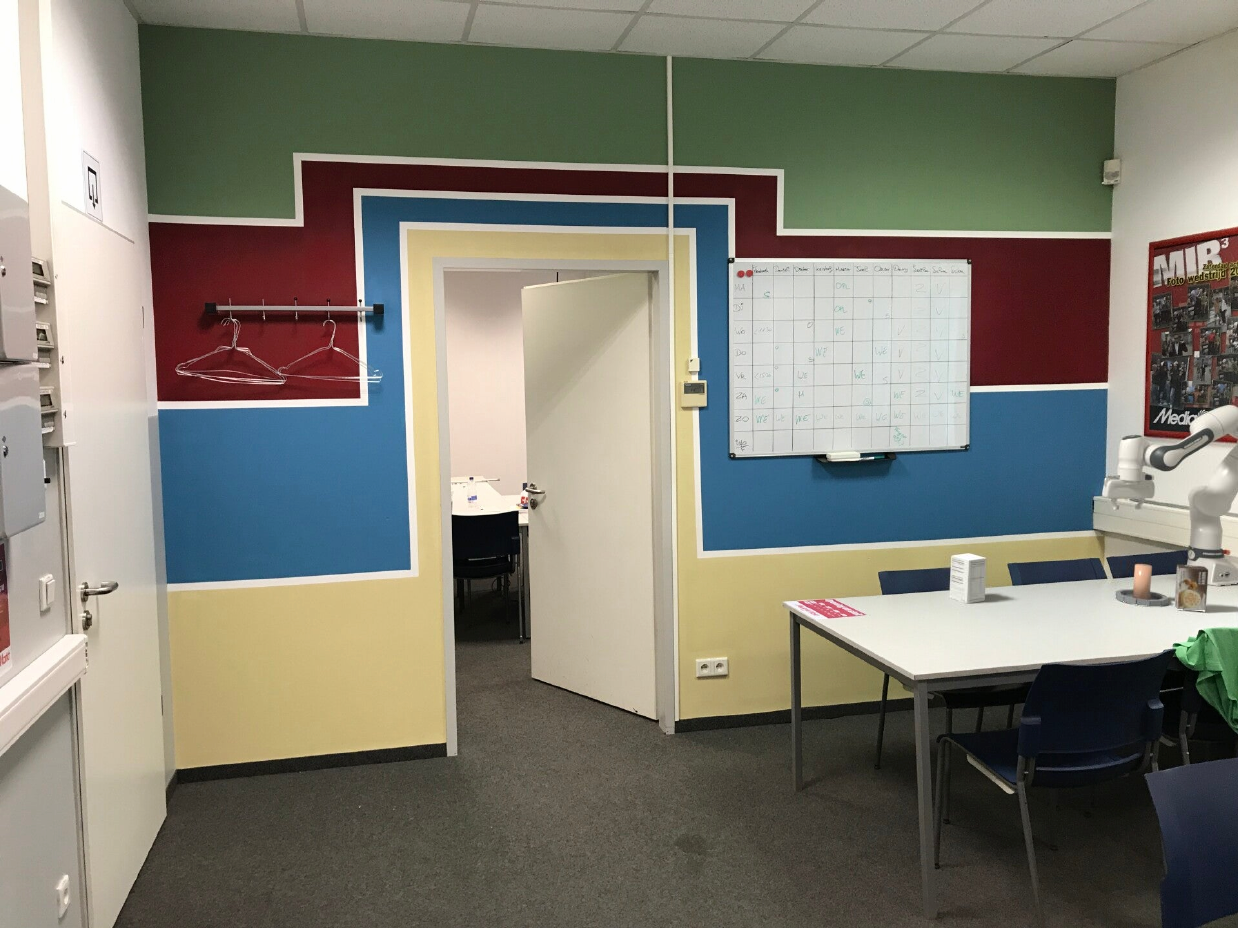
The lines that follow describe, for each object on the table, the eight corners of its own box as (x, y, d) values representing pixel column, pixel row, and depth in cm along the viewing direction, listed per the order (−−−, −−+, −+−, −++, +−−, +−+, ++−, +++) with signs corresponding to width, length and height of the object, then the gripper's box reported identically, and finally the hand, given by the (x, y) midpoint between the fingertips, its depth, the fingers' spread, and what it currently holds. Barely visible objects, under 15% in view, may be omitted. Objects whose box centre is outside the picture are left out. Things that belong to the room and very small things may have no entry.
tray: (1147, 594, 360) (1148, 588, 359) (1177, 606, 343) (1177, 600, 343) (1106, 595, 358) (1106, 589, 358) (1134, 606, 341) (1134, 601, 341)
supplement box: (966, 595, 357) (969, 552, 355) (985, 601, 349) (987, 557, 347) (948, 597, 353) (950, 554, 351) (966, 603, 345) (969, 559, 343)
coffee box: (1202, 608, 340) (1205, 566, 338) (1205, 613, 334) (1209, 569, 332) (1173, 605, 343) (1176, 563, 341) (1176, 610, 337) (1180, 567, 335)
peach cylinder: (1143, 596, 354) (1145, 563, 352) (1152, 600, 348) (1155, 567, 346) (1129, 597, 353) (1131, 563, 352) (1138, 600, 347) (1141, 567, 346)
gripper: (1109, 476, 366) (1107, 510, 367) (1158, 476, 367) (1155, 510, 369) (1100, 474, 372) (1097, 508, 373) (1147, 474, 374) (1145, 507, 375)
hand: (1127, 509), depth 371 cm, fingers open, 8 cm apart
